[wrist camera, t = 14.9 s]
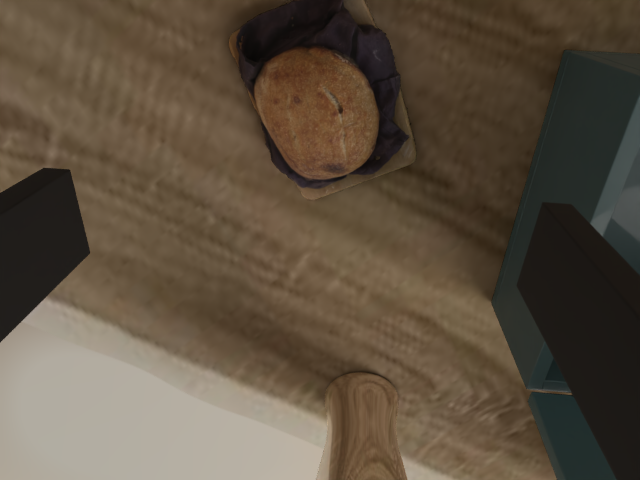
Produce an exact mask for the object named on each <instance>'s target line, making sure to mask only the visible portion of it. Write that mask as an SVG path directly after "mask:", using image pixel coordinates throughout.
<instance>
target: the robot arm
mask: <svg viewBox="0 0 640 480" xmlns="http://www.w3.org/2000/svg"><path fill="white" fill-rule="evenodd" d="M89 254H90V250H89V246H88V242H87V237H86V233H85V229H84V225H83V221H82V217H81V213H80V209H79V205H78V201H77V196H76V192H75V188H74V184H73V180H72V176H71V172H70V170H68V169H53V168H43V169H41V170H39V171H37V172H36V173H34V174H32V175H31V176H29V177H27V178H25V179H24V180H22V181H20V182H19V183H17V184H15V185H13V186H12V187H10V188H8V189H6V190H5V191H3V192H1V193H0V342H1V341H2V340H3V339H4V338H5V337H6V336H7V335H8V334H9V333H10V332H11V331H12V330H13V329H14V328H15V327H16V326H17V325H18V324H19V323H20V322H21V321H22V320H23V319H24V318H25V317H26V316H27V315H28V314H29V313H30V312H31V311H32V310H33V309H34V308H35V307H36V306H37V305H38V304H39V303H40V302H41V301H42V300H43V299H44V298H45V297H46V296H47V295H48V294H49V293H50V292H51V291H52V290H53V289H54V288H55V287H56V286H57V285H58V284H59V283H60V282H61V281H63V280H64V279H65V278H66V277H67V276H68V275H69V274H70V273H71V272H72V271H73V270H74V269H75V268H76V267H77V266H78V265H79V264H80V263H81V262H82V261H83V260H84V259H85V258H86V257H87V256H88V255H89ZM516 286H517V288H518V290H519V292H520V294H521V296H522V298H523V300H524V302H525V304H526V306H527V307H528V309H529V311H530V313H531V315H532V317H533V319H534V321H535V323H536V325H537V327H538V329H539V331H540V333H541V335H542V336H543V338H544V340H545V342H546V344H547V346H548V348H549V350H550V352H551V354H552V356H553V358H554V360H555V362H556V364H557V365H558V367H559V369H560V371H561V373H562V375H563V377H564V379H565V381H566V383H567V385H568V387H569V389H570V391H571V393H572V394H573V396H574V398H575V400H576V402H577V404H578V406H579V408H580V410H581V412H582V414H583V416H584V418H585V420H586V421H587V423H588V425H589V427H590V429H591V431H592V433H593V435H594V437H595V439H596V441H597V443H598V445H599V447H600V449H601V450H602V452H603V454H604V456H605V458H606V460H607V462H608V464H609V466H610V468H611V470H612V472H613V474H614V476H615V478H616V479H617V480H640V275H639V274H638V273H637V272H636V271H635V270H634V269H633V268H632V267H631V266H630V265H629V264H628V263H627V261H626V260H625V259H624V258H623V257H622V256H621V255H620V254H619V253H618V252H617V251H616V250H615V249H614V248H613V247H612V246H611V245H610V244H609V243H608V242H607V241H606V240H605V239H604V238H603V236H602V235H601V234H600V233H599V232H598V231H597V230H596V229H595V228H594V227H593V226H592V225H591V224H590V223H589V222H588V221H587V220H586V219H585V218H584V217H583V216H582V215H581V214H580V213H579V211H578V210H577V209H576V208H575V207H574V206H573V205H572V204H564V203H549V202H542V205H541V208H540V211H539V214H538V217H537V221H536V224H535V227H534V230H533V234H532V237H531V240H530V243H529V246H528V250H527V253H526V256H525V259H524V262H523V266H522V269H521V272H520V275H519V279H518V282H517V285H516Z"/></svg>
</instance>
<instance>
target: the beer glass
mask: <svg viewBox="0 0 640 480" xmlns="http://www.w3.org/2000/svg"><path fill="white" fill-rule="evenodd" d="M398 405H399V399H398V394H397V391H396V389H395V388H394V386H393V385H392V384H391V383H390V382H389V381H387V380H386V379H384V378H382V377H380V376H378V375H375V374H371V373H365V372H356V373H349V374H346V375H343V376H340V377H338V378H337V379H335V380H334V381H333V382H332V383H331V384H330V385H329V386H328V388H327V390H326V392H325V409H326V416H327V437H326V443H325V447H324V451H323V455H322V459H321V462H320V466H319V470H318V473H317V478H316V480H408V479H407V475H406V472H405V468H404V465H403V461H402V458H401V454H400V450H399V446H398V442H397V435H396V421H397V413H398Z"/></svg>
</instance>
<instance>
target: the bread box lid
mask: <svg viewBox="0 0 640 480" xmlns="http://www.w3.org/2000/svg"><path fill="white" fill-rule="evenodd" d="M528 403H529V406H530V408H531V411H532V414H533V416H534V419H535V422H536V424H537V427H538V430H539V432H540V435H541V438H542V440H543V443H544V446H545V448H546V451H547V454H548V456H549V459H550V462H551V464H552V467H553V470H554V472H555V475H556V478H557V480H617V479H616V478H615V476H614V474H613V472H612V470H611V468H610V466H609V464H608V462H607V460H606V458H605V456H604V454H603V452H602V450H601V449H600V447H599V445H598V443H597V441H596V439H595V437H594V435H593V433H592V431H591V429H590V427H589V425H588V423H587V421H586V420H585V418H584V416H583V414H582V412H581V410H580V408H579V406H578V404H577V402H576V400H575V398H574V396H573V395H562V394H551V393H539V392H531V394H530V397H529V399H528Z"/></svg>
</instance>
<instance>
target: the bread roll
mask: <svg viewBox="0 0 640 480" xmlns="http://www.w3.org/2000/svg"><path fill="white" fill-rule="evenodd" d="M229 39H230V40H229V48H230V50H231V53H232V55H233V57H234V58H235V60H236V62H237V65H238V68H239V71H240V73H241V77H242V79H243V81H244V83H245V86H246V88H247V90H248V94H249V96H250V98H251V101H252V103H253V106H254V108H255V109H256V111H257V112H258V115H259V117H260V119H261V125H262V129H263V131H264V133H265V138H266V146H267V147H268V149H269V150H270V153H271V160H272V162H273V163H274V165H275V166H276V167H277V168H278V169H279V170H280V171H281V172H282V173H284V174H286V175H287V176H288V178H290V179H292V180H293V181H294V182H295V183H296V186H297V187H298V188H299V190H300V192H301V194H302V196H303V197H305V198H307V199H308V200H316V199H319V198H321V197H324V196H327V195H329V194H332V193H334V192H338V191H341V190H343V189H346V188H349V187H351V186H354V185H357V184H359V183H362V182H365V181H368V180H370V179H373V178H376V177H379V176H381V175H384V174H386V173H389V172H392V171H394V170H397V169H400V168H402V167H405V166H408V165H410V164H412V163H413V162H414V161H415V160H416V156H417V155H416V147H415V142H414V141H415V140H414V139H413V138H414V137H413V133H412V131H411V127H410V125H411V123H409V117H408V114H407V111H406V110H407V108H405V104H404V101H403V99H402V98H403V95H402V91H401V88H400V74H399V73H398V72H397V71H396V67H395V62H394V55H393V52H392V49H391V46H390V43H389V40H388V39H387V37H386V33H383V32H382V30H380V29H378V28H376V26H375V24H374V20H373V18H372V16H371V14H370V11H369V9H368V7H367V5H366V3H365V0H293V1H292V2H291V3H288V4H285V5H283V6H281V7H278V8H275V9H272V10H269V11H267V12H265V13H263V14H260V15H258V16H257V17H255V18H253V19H251V20H250V21H248V22H247V23H246V24H244V25H243V26H242V27H241V28H240V29H238V30H237V31H236V32H234V33H233V34H232V35H231V36H230V38H229Z"/></svg>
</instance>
